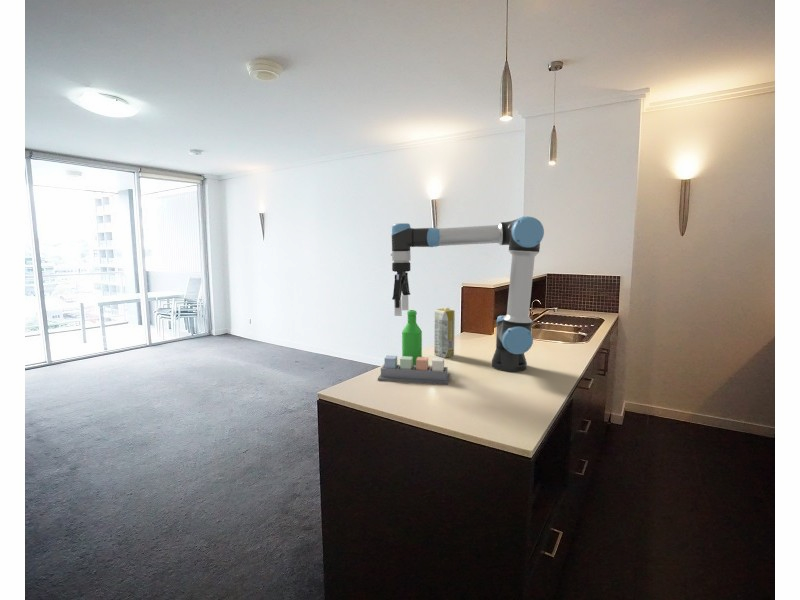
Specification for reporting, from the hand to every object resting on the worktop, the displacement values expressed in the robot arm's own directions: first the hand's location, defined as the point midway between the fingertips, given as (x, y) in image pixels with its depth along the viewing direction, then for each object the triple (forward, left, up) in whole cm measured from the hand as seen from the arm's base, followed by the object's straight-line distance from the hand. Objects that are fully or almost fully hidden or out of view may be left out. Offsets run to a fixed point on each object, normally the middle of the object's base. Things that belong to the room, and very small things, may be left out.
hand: (401, 312), depth 169 cm
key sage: (-3, +6, -23) cm, 23 cm away
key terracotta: (-9, +6, -23) cm, 25 cm away
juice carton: (-15, -30, -26) cm, 43 cm away
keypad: (-6, +6, -26) cm, 27 cm away
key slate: (+4, +6, -23) cm, 24 cm away
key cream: (-16, +6, -23) cm, 28 cm away
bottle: (-2, -12, -26) cm, 29 cm away
